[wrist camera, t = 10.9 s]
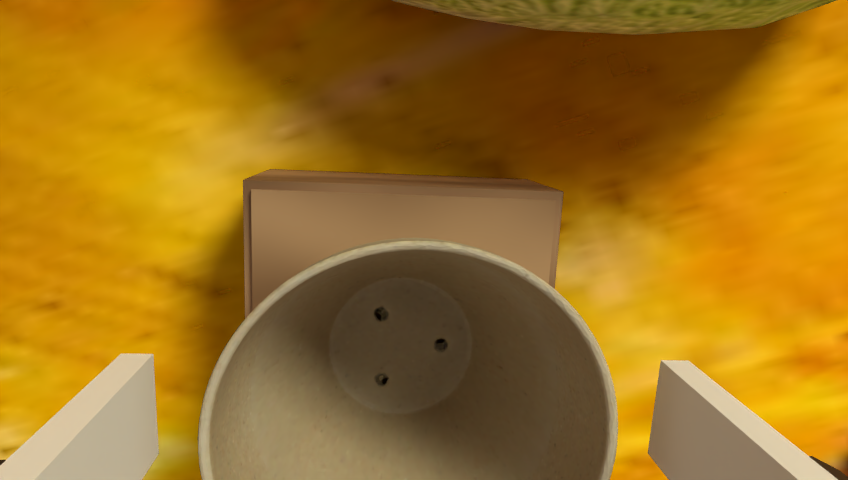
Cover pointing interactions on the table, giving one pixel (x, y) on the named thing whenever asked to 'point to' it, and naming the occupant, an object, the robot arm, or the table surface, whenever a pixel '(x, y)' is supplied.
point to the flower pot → (410, 375)
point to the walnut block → (390, 220)
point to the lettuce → (623, 13)
